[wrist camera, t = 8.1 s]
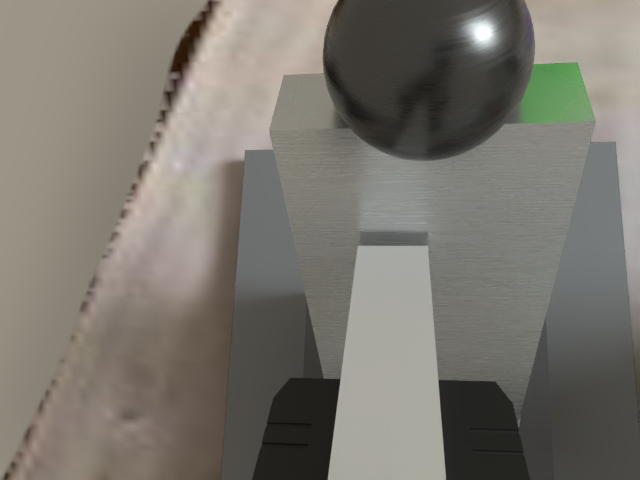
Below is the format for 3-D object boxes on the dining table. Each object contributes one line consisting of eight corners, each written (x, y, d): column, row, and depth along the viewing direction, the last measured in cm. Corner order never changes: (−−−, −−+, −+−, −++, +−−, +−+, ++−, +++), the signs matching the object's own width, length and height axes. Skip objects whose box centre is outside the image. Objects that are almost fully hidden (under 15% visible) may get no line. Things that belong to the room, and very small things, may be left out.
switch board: (653, 741, 21) (742, 869, 16) (214, 687, 24) (148, 780, 18) (607, 152, 27) (659, 84, 21) (252, 160, 29) (210, 100, 24)
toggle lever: (520, 454, 18) (652, -3, 8) (329, 444, 19) (226, 21, 9) (508, 348, 20) (597, -107, 10) (339, 344, 21) (268, -79, 11)
